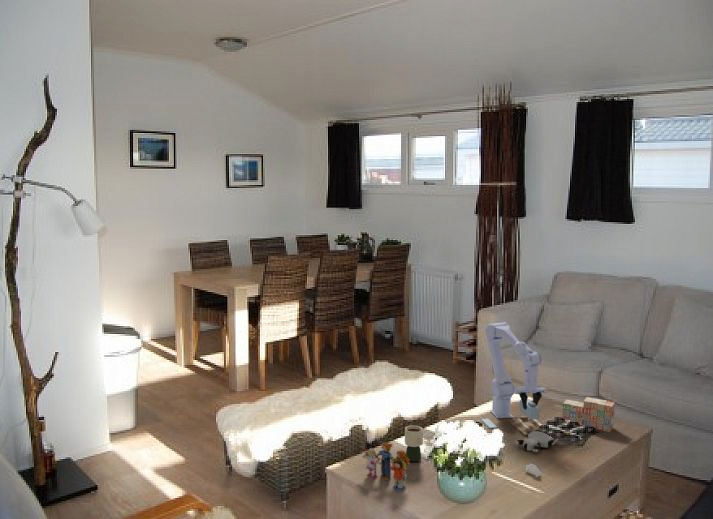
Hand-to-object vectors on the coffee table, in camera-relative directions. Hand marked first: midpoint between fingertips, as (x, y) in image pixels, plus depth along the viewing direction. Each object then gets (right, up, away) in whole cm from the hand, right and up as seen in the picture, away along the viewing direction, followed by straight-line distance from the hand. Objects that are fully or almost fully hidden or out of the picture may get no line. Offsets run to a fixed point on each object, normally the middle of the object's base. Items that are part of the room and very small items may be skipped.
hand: (529, 408), depth 284 cm
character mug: (-55, -13, -32) cm, 65 cm away
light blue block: (0, -3, 0) cm, 3 cm away
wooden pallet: (0, -9, +1) cm, 9 cm away
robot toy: (-2, -12, -18) cm, 22 cm away
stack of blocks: (+28, -9, +6) cm, 30 cm away
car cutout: (-13, -15, -40) cm, 45 cm away
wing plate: (-17, -9, +6) cm, 20 cm away
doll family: (-65, -15, -48) cm, 83 cm away
